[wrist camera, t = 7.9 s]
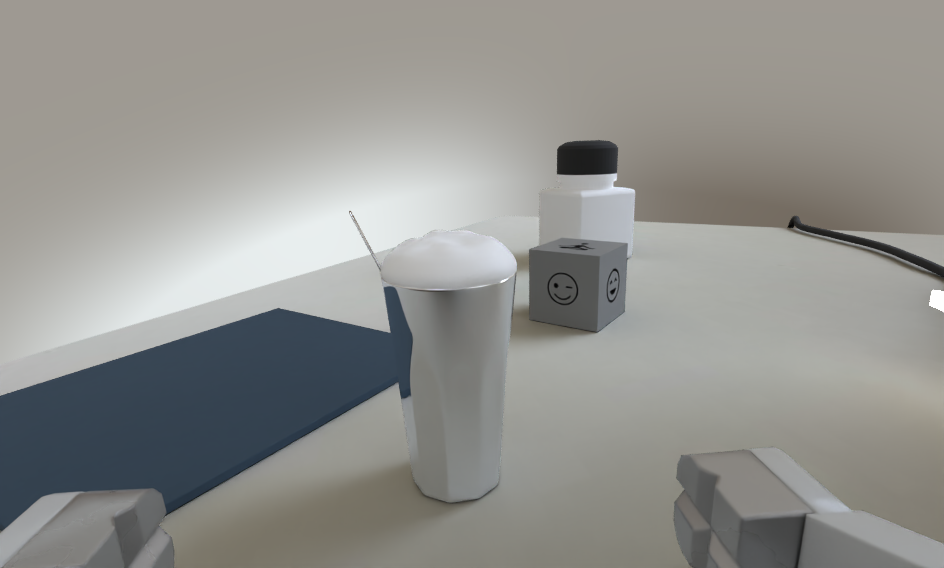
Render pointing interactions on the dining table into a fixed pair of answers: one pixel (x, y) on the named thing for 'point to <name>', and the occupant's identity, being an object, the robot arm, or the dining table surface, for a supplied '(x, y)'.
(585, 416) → the dining table surface
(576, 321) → the dice cube
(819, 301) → the dining table surface
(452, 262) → the milkshake
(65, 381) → the mat
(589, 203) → the medicine bottle
